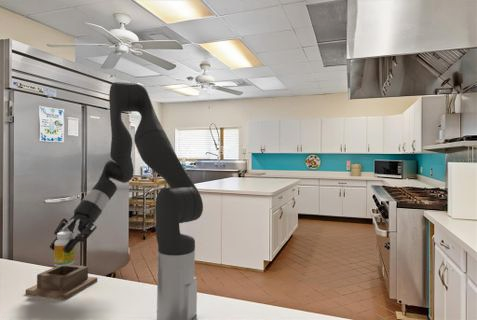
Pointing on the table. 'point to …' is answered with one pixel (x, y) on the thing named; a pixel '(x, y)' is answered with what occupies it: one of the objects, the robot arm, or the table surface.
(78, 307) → the table surface
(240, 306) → the table surface
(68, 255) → the supplement bottle
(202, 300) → the table surface
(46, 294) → the box
